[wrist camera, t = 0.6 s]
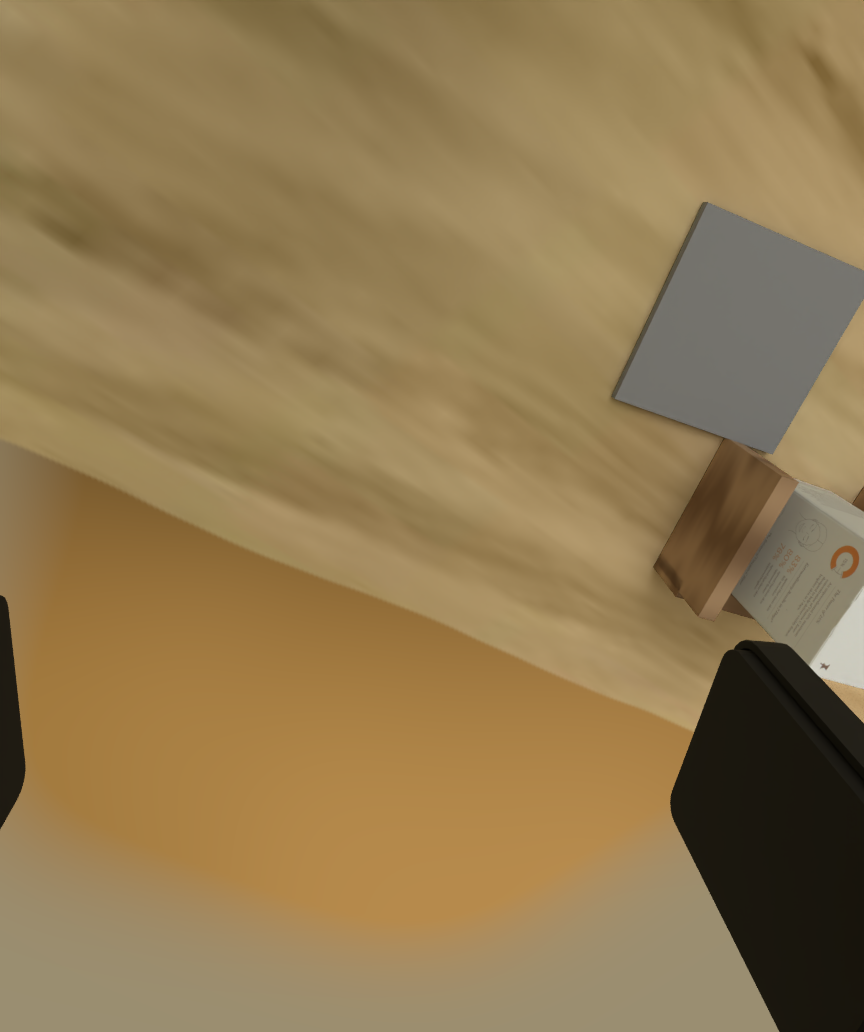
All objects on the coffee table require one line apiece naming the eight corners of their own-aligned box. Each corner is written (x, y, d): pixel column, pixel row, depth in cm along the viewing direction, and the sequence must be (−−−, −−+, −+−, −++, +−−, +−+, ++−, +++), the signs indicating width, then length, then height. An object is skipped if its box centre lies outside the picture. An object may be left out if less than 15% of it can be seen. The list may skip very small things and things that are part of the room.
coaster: (703, 202, 40) (707, 202, 40) (870, 275, 43) (876, 276, 43) (611, 396, 45) (614, 398, 44) (767, 451, 48) (772, 454, 47)
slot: (725, 436, 47) (782, 476, 41) (878, 490, 50) (953, 535, 43) (653, 567, 51) (694, 622, 44) (799, 610, 54) (857, 667, 47)
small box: (772, 584, 52) (891, 700, 41) (700, 562, 51) (801, 676, 39) (833, 488, 49) (980, 585, 38) (758, 462, 48) (886, 553, 36)
